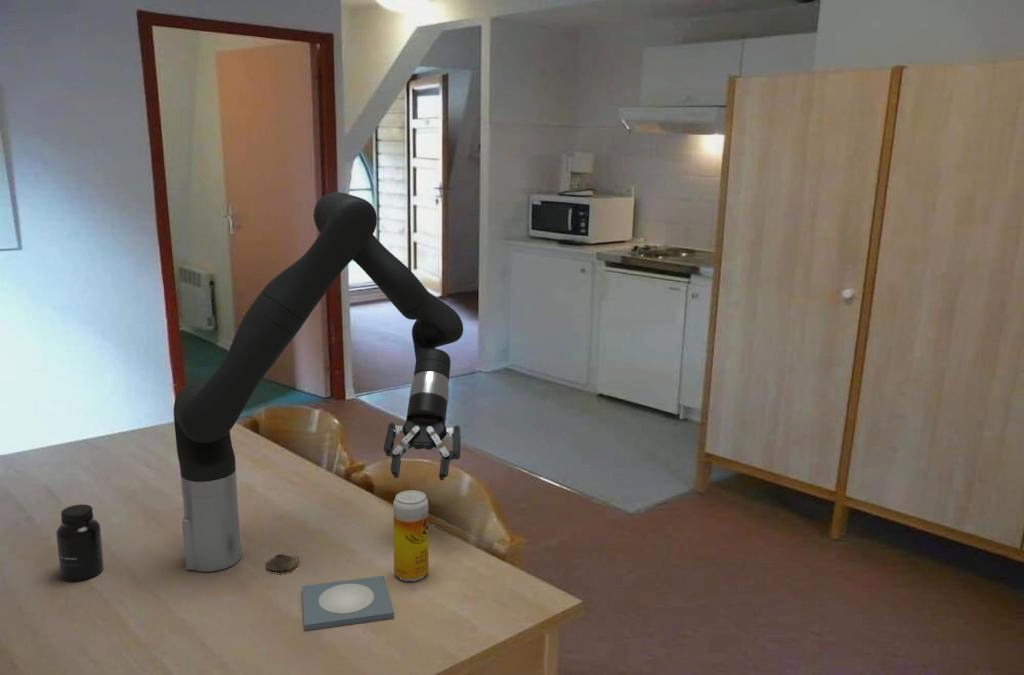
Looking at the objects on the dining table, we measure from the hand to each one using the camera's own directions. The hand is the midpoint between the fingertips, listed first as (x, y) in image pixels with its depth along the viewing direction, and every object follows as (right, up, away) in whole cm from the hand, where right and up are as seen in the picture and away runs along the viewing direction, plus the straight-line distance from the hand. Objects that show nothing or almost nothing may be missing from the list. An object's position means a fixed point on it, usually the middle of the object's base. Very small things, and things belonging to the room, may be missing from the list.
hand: (418, 477), depth 147 cm
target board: (-10, -18, -15) cm, 26 cm away
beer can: (-1, -17, -5) cm, 17 cm away
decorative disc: (-24, -16, -2) cm, 29 cm away
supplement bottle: (-59, -16, -6) cm, 61 cm away
